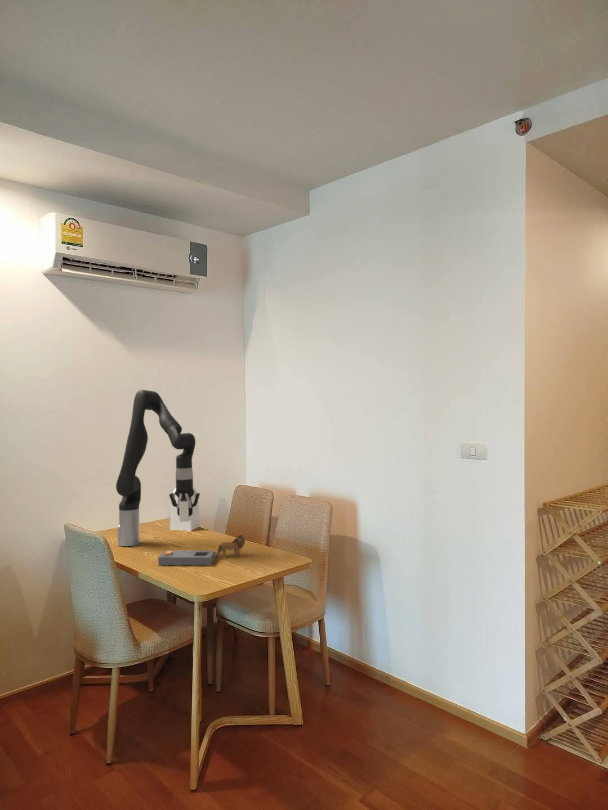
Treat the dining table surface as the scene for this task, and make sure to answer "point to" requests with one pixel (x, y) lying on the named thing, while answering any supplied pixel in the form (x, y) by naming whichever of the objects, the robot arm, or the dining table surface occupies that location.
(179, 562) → the grey board with slot
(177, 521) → the milk
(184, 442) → the robot arm
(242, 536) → the lion figurine
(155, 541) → the dining table surface
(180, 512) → the white rectangular block
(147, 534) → the dining table surface
